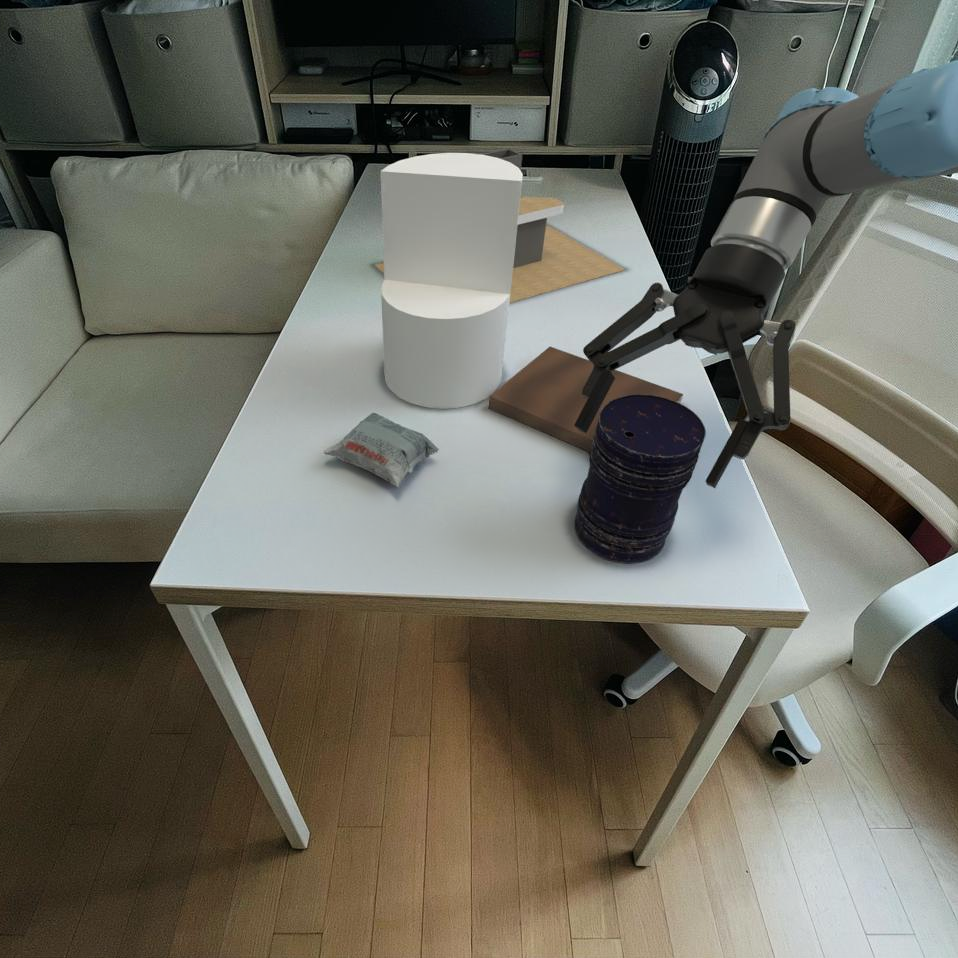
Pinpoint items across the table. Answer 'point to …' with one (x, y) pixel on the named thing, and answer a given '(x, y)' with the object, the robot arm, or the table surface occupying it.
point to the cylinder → (447, 275)
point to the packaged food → (383, 448)
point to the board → (563, 395)
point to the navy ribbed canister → (636, 476)
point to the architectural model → (546, 248)
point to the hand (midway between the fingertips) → (641, 456)
